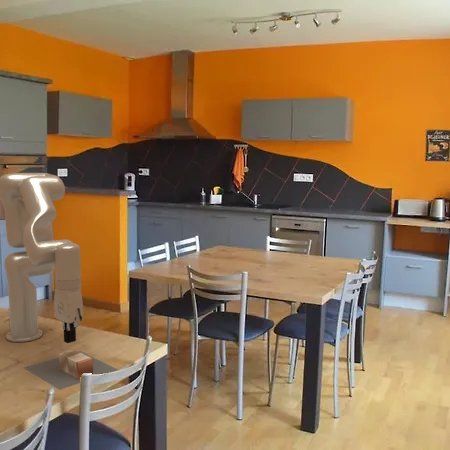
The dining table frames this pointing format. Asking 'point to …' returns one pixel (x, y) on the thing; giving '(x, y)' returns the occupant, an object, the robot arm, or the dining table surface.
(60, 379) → the mat
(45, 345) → the dining table surface
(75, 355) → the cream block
